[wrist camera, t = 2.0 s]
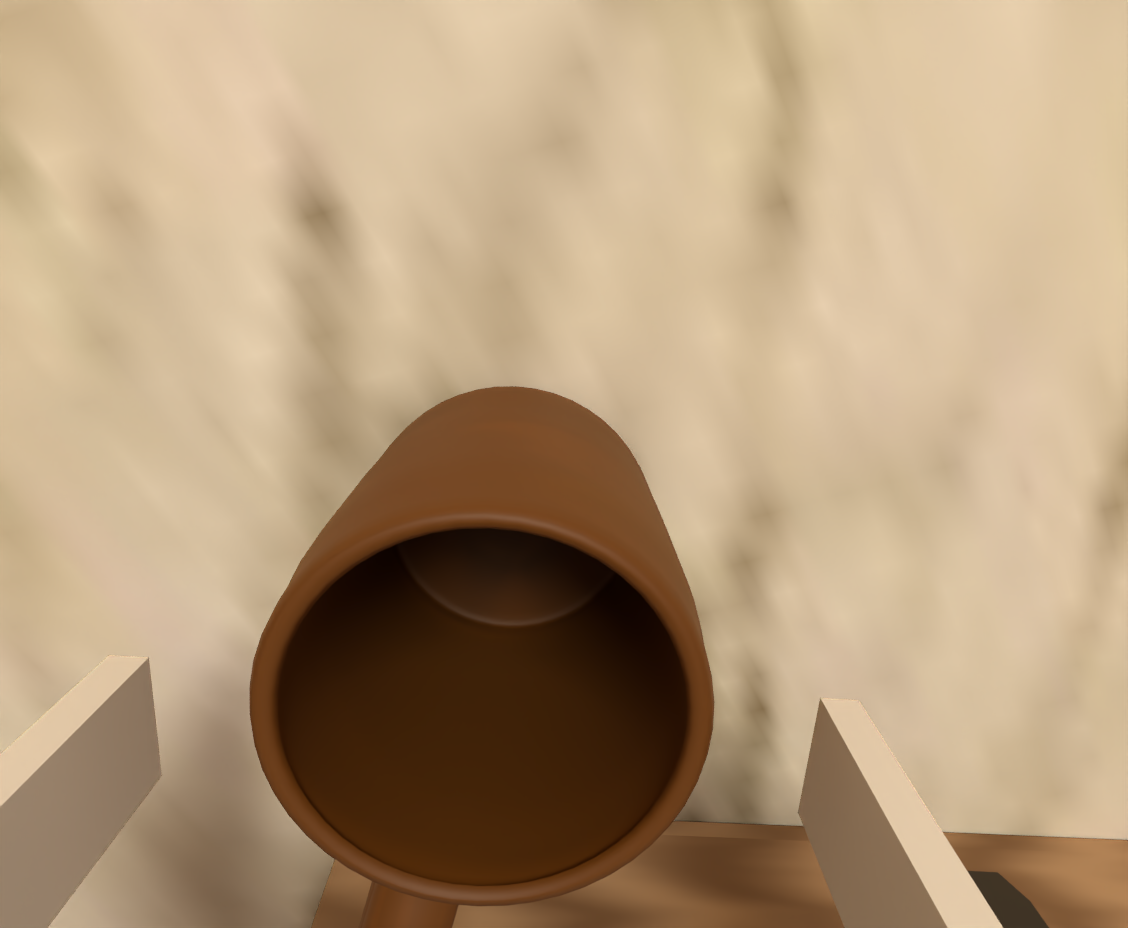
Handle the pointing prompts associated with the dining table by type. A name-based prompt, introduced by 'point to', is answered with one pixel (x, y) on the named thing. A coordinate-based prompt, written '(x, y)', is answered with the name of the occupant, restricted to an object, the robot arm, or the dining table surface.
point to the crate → (776, 883)
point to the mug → (486, 665)
